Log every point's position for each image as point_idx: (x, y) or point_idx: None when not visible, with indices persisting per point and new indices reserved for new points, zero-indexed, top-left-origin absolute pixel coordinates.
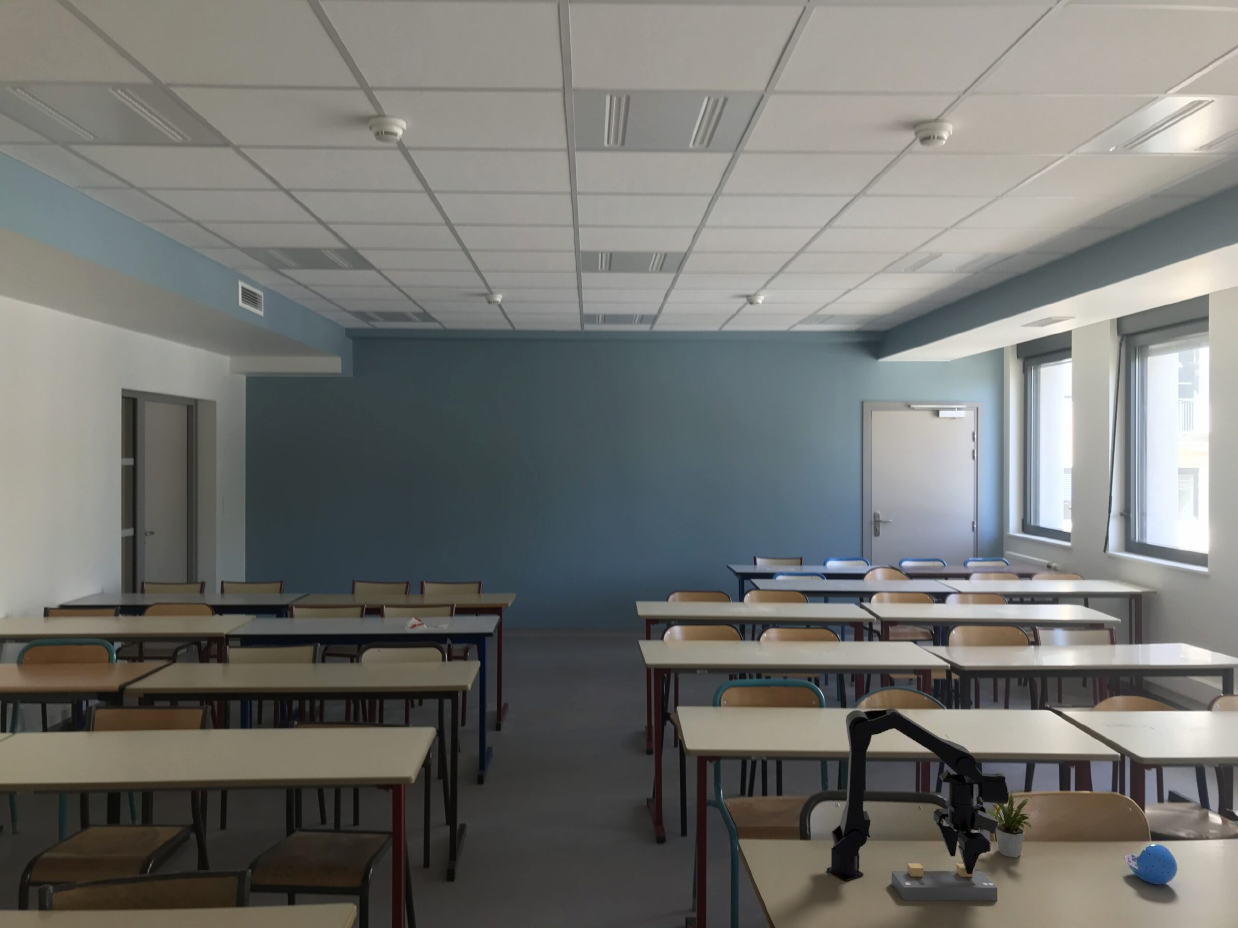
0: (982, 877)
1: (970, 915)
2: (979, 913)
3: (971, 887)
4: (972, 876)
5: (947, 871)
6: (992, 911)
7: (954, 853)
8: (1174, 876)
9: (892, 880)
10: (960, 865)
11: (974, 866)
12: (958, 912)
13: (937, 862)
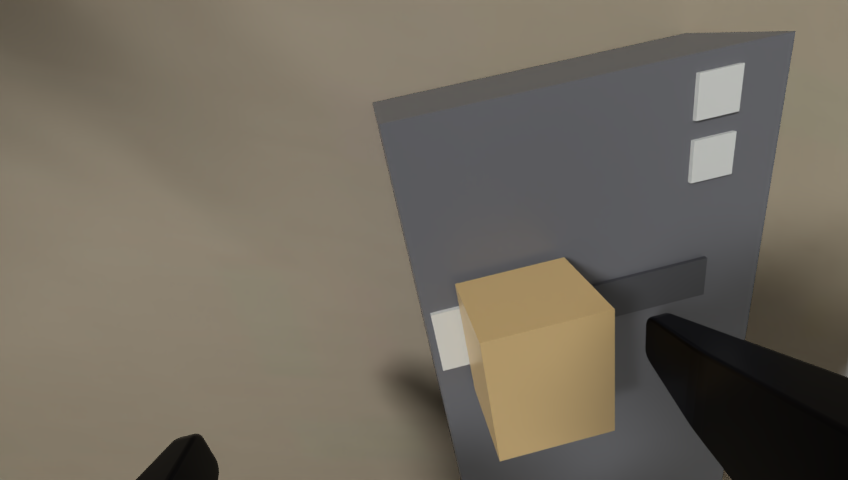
0: (551, 149)
1: (843, 283)
2: (835, 226)
3: (748, 296)
4: (566, 263)
5: (462, 441)
6: (833, 128)
7: (192, 465)
8: None
9: None
10: (547, 426)
11: (785, 356)
12: (798, 340)
13: (55, 402)
